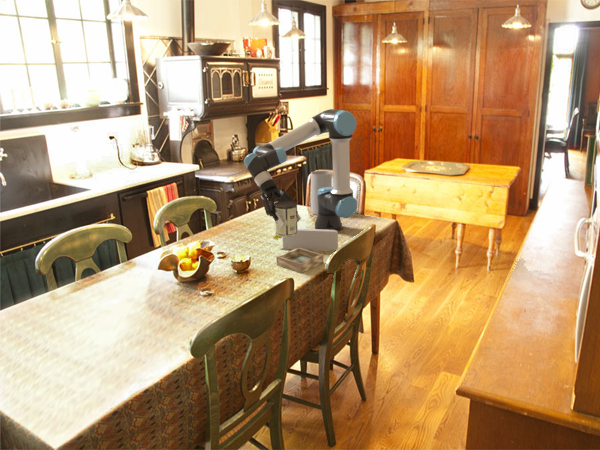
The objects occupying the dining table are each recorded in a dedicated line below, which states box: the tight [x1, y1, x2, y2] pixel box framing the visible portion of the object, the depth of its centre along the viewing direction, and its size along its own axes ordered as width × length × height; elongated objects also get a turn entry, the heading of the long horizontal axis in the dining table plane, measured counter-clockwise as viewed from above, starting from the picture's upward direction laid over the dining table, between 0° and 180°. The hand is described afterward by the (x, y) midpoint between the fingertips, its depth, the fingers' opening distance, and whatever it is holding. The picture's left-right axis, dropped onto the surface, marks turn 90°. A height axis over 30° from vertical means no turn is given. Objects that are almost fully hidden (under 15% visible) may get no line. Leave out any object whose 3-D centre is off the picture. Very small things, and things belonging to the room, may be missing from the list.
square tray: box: [275, 248, 324, 274], centre depth 220 cm, size 15×15×4 cm
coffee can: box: [274, 200, 298, 238], centre depth 219 cm, size 10×10×14 cm
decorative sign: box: [272, 228, 339, 252], centre depth 239 cm, size 32×4×10 cm, turn 80°
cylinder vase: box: [310, 170, 333, 216], centre depth 296 cm, size 12×12×25 cm
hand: (290, 223), depth 218 cm, fingers closed on coffee can, 10 cm apart
